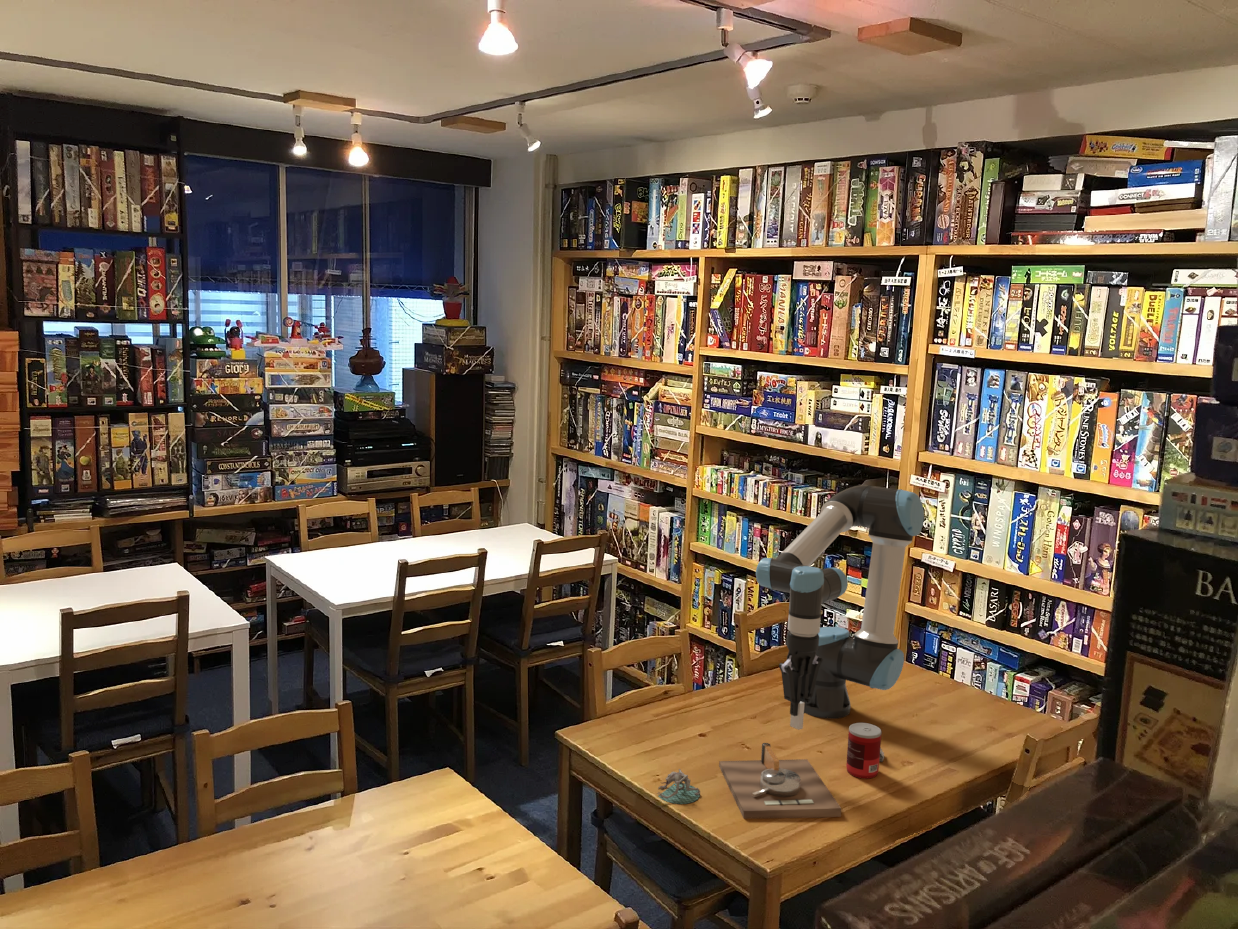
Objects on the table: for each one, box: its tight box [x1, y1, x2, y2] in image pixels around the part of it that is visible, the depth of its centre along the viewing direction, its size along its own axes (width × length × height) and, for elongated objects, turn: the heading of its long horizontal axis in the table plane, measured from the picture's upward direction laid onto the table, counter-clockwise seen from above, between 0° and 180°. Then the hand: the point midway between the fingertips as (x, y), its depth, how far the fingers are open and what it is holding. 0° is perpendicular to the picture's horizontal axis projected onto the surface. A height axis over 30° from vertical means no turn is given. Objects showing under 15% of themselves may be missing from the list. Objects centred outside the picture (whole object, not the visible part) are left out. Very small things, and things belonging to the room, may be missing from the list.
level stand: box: [718, 758, 842, 820], centre depth 220 cm, size 24×22×2 cm
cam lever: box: [752, 742, 801, 797], centre depth 222 cm, size 18×12×5 cm
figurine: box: [656, 768, 701, 805], centre depth 216 cm, size 11×12×6 cm
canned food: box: [845, 722, 882, 780], centre depth 231 cm, size 8×8×11 cm
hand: (796, 727), depth 229 cm, fingers closed
